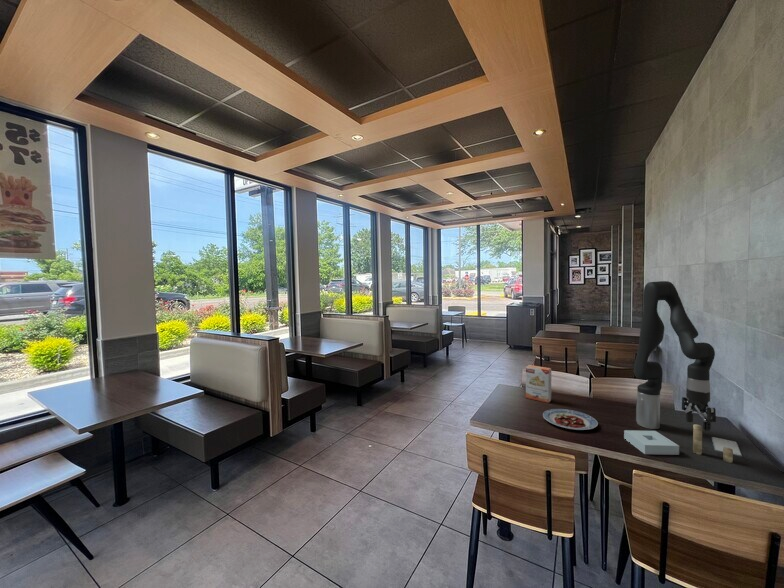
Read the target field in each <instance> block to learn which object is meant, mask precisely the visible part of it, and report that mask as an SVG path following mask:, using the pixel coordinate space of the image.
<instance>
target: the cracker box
mask: <svg viewBox="0 0 784 588" xmlns="http://www.w3.org/2000/svg"><path fill="white" fill-rule="evenodd" d="M525 398H526V399H530V400H534V401H538V402H539V401H540V402H543V403H548V404H549V403H550V402H551V401H552V368H551V367H545V366H538V365H532V364H528V365H526V366H525Z"/></svg>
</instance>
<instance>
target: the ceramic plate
mask: <svg viewBox="0 0 784 588" xmlns="http://www.w3.org/2000/svg"><path fill="white" fill-rule="evenodd" d="M542 417H543V419H544V420H546V422H549V423H550V424H552V425H555V426H557V427H560V428H563V429H564V428H565V429H568V430H576V431H584V430H585V431H586V430H593V429H595V428H597V427H598V425H599V422H598V420H596V419H595V418H594V417H593V416H590V415H589V414H586V413H584V412H581V411H577V410H572V409H565V408H552V409H548V410H545V411H543V413H542Z"/></svg>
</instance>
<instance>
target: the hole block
mask: <svg viewBox="0 0 784 588" xmlns="http://www.w3.org/2000/svg"><path fill="white" fill-rule="evenodd" d="M623 433H624V434H623V439H624V440H625V439H626V440H625V441H627V442H628V443H629V442H630V443H629V444H630V445H632V446H633V447H635V448H636V449H637V450H639V451H640V452H641V453H642V454H644V455H663V456H664V455H667V456H668V455H669V456H670V455H671V456H674V455H675V456H676V455H678V456H679V455H680V445H679V444H677V443H675V442H674V441H672V440H670V439H669V438H667V437H666V436H664V435H663V434H661V433H660V432H658V431H656V430H632V429H631V430H628V429H625V430H623Z"/></svg>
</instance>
